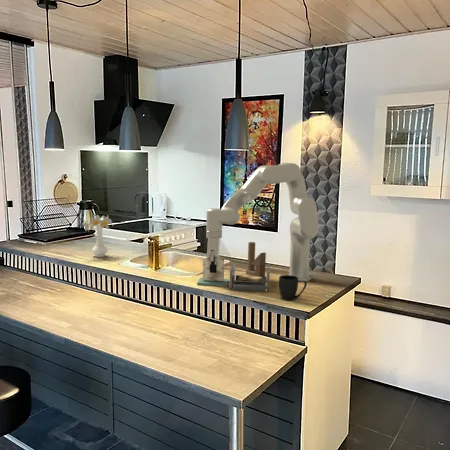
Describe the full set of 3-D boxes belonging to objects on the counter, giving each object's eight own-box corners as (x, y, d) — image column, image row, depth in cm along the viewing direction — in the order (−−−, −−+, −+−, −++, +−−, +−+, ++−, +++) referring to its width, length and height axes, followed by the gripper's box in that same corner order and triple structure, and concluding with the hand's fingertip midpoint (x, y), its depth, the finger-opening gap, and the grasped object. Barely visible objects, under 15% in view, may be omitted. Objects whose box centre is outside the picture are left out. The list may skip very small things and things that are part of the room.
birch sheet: (223, 279, 217) (224, 257, 215) (223, 281, 214) (223, 258, 213) (203, 278, 218) (203, 256, 216) (202, 280, 215) (203, 257, 214)
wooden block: (259, 281, 222) (261, 245, 219) (245, 276, 230) (246, 242, 227) (265, 279, 224) (266, 244, 221) (250, 275, 232) (251, 241, 230)
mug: (302, 304, 186) (303, 282, 185) (275, 299, 192) (276, 278, 191) (308, 299, 193) (309, 277, 192) (282, 294, 199) (283, 274, 198)
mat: (228, 280, 220) (228, 278, 220) (226, 286, 210) (226, 284, 210) (200, 279, 222) (200, 277, 221) (197, 284, 212) (197, 282, 212)
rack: (269, 281, 221) (269, 263, 220) (268, 292, 203) (269, 272, 202) (232, 279, 223) (233, 262, 221) (229, 290, 205) (230, 270, 203)
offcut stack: (263, 285, 215) (263, 277, 214) (258, 287, 211) (259, 279, 210) (241, 281, 221) (242, 273, 221) (236, 283, 217) (237, 275, 216)
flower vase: (79, 257, 265) (78, 215, 262) (104, 252, 280) (104, 213, 276) (93, 260, 257) (92, 217, 254) (118, 255, 272) (118, 215, 269)
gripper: (208, 231, 221) (208, 267, 224) (203, 236, 205) (203, 275, 208) (223, 232, 220) (222, 268, 223) (220, 237, 204) (219, 276, 207)
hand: (213, 271), depth 215 cm, fingers closed on birch sheet, 2 cm apart
